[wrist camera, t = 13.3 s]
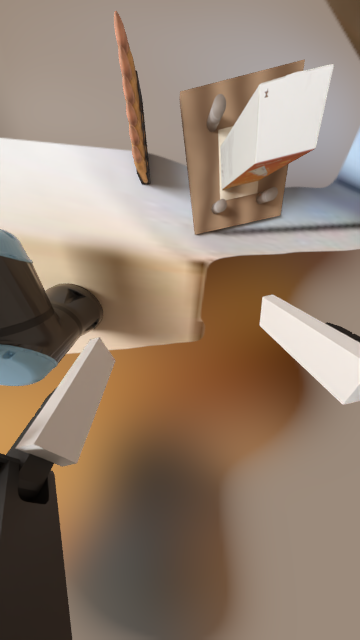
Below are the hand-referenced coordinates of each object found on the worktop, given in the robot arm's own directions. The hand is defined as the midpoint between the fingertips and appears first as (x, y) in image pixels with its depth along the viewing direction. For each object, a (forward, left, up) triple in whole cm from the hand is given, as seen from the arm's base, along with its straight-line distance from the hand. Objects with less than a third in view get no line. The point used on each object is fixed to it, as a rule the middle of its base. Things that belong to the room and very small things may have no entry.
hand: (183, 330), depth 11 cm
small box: (+17, +15, -29) cm, 37 cm away
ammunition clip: (-1, +21, -31) cm, 38 cm away
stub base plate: (+17, +15, -31) cm, 38 cm away
